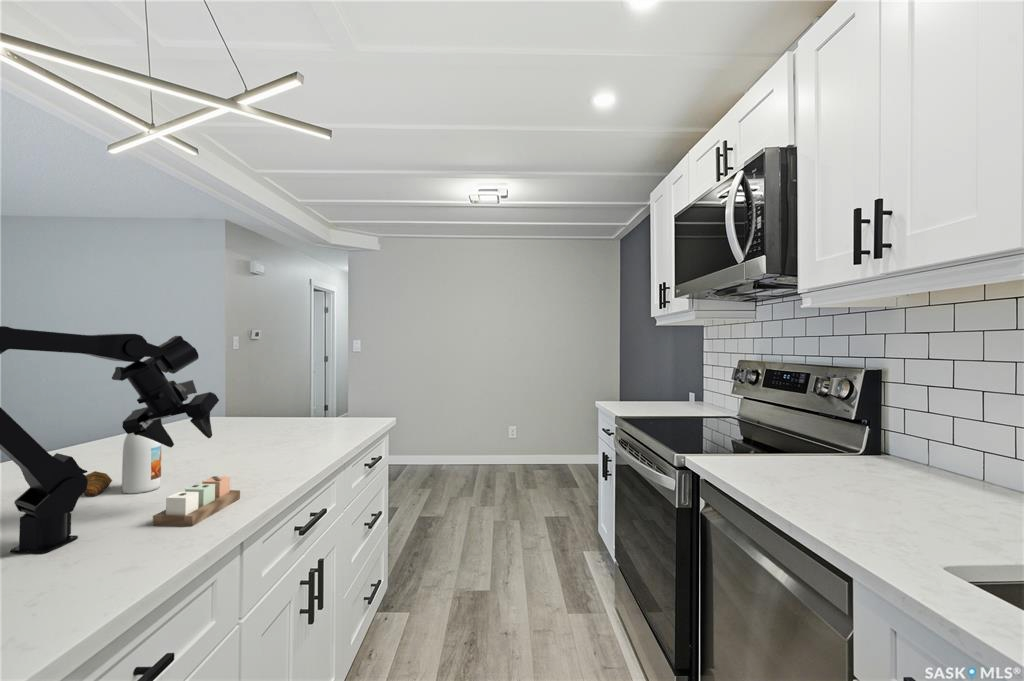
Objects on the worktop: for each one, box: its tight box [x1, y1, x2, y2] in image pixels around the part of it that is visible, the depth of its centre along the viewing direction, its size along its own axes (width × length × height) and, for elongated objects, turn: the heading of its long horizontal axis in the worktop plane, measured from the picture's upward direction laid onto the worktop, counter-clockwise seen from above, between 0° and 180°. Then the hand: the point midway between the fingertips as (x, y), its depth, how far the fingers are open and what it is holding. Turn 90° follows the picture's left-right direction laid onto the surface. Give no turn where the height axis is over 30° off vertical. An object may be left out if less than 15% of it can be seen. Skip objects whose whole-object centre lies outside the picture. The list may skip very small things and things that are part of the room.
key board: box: [152, 489, 241, 527], centre depth 105 cm, size 17×8×2 cm, turn 0°
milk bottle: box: [121, 409, 162, 494], centre depth 119 cm, size 8×8×20 cm
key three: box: [201, 475, 231, 497], centre depth 110 cm, size 4×4×4 cm
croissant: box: [82, 470, 113, 497], centre depth 118 cm, size 14×7×5 cm, turn 37°
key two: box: [184, 483, 215, 506], centre depth 105 cm, size 4×4×4 cm
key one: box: [165, 491, 199, 515], centre depth 99 cm, size 4×4×4 cm
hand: (191, 441), depth 109 cm, fingers open, 9 cm apart
